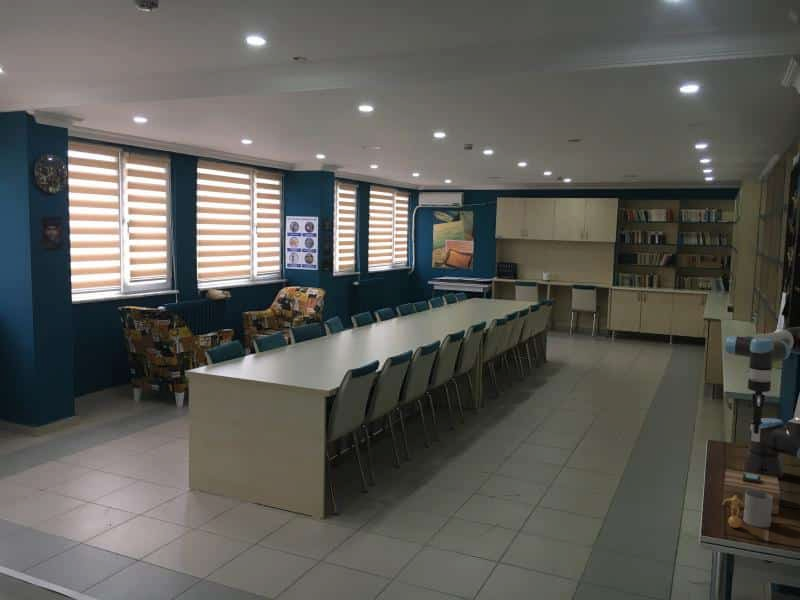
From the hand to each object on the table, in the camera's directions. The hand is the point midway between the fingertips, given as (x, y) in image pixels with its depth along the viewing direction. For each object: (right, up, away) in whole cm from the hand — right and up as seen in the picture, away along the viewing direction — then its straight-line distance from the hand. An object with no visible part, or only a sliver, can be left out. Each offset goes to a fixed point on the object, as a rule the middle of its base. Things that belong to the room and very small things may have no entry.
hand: (755, 440), depth 253 cm
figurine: (-20, -25, -24) cm, 40 cm away
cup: (-9, -25, -19) cm, 32 cm away
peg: (-2, -21, 0) cm, 21 cm away
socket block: (-2, -23, 0) cm, 23 cm away
